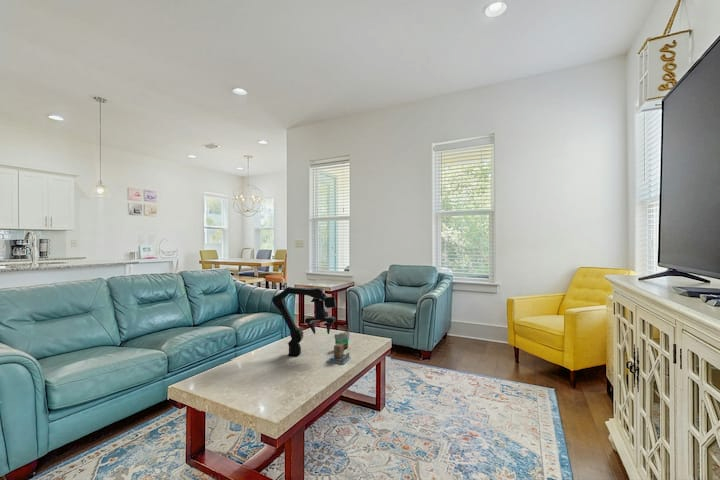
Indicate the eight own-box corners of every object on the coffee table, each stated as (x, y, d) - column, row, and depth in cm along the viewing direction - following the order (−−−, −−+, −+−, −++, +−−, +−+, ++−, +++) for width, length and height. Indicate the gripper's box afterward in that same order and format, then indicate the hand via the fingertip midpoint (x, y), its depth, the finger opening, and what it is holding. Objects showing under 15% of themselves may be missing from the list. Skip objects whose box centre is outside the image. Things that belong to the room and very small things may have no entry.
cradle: (326, 362, 190) (326, 356, 190) (333, 355, 201) (333, 350, 201) (344, 364, 187) (344, 358, 187) (350, 357, 197) (350, 352, 197)
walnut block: (333, 359, 192) (333, 345, 192) (337, 356, 197) (337, 343, 197) (340, 360, 191) (340, 346, 191) (343, 357, 196) (343, 344, 196)
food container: (341, 351, 208) (341, 336, 208) (334, 349, 212) (334, 334, 212) (353, 346, 218) (353, 331, 218) (346, 345, 222) (346, 330, 222)
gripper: (338, 305, 207) (340, 330, 207) (311, 306, 213) (313, 330, 213) (331, 309, 197) (333, 335, 197) (303, 309, 202) (305, 335, 202)
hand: (321, 333), depth 202 cm, fingers open, 9 cm apart
